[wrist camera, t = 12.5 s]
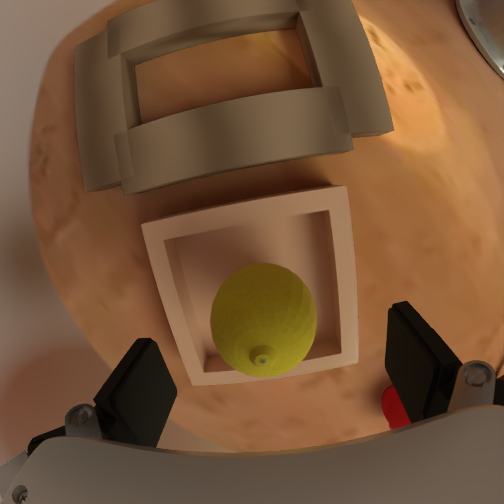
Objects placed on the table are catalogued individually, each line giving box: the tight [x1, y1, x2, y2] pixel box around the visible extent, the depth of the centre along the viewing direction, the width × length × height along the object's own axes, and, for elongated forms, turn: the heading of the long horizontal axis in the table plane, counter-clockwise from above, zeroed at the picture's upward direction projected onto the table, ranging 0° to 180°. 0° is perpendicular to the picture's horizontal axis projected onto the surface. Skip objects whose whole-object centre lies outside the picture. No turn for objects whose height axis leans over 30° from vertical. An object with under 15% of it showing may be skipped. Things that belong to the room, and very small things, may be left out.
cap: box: [382, 386, 411, 430], centre depth 19 cm, size 8×6×6 cm
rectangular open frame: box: [74, 0, 394, 195], centre depth 14 cm, size 20×14×2 cm
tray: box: [141, 185, 358, 386], centre depth 18 cm, size 12×12×3 cm
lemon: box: [210, 263, 317, 377], centre depth 14 cm, size 6×6×8 cm
